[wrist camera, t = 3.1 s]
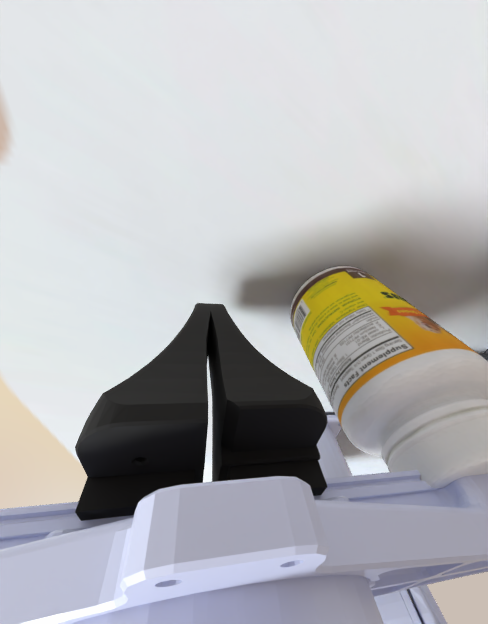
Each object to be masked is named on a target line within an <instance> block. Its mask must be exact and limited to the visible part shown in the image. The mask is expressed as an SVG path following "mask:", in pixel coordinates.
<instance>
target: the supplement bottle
mask: <svg viewBox="0 0 488 624" xmlns="http://www.w3.org/2000/svg"><path fill="white" fill-rule="evenodd" d="M290 318H291V323H292V326H293V328H294V330H295V333H296V335H297V337H298V339H299V341H300V343H301V345H302V347H303V349H304V351H305V353H306V355H307V357H308V359H309V361H310V364H311V366H312V368H313V370H314V372H315V374H316V376H317V378H318V380H319V382H320V384H321V386H322V388H323V390H324V392H325V394H326V396H327V398H328V400H329V402H330V404H331V406H332V408H333V410H334V412H335V414H336V416H337V418H338V420H339V422H340V425H341V427H342V428H343V430H344V432H345V434H346V436H347V437H348V439H349V440H350V442H351V443H352V444H353V445H354V446H356V447H357V448H358V449H360V450H361V451H363V452H365V453H368V454H371V455H376V456H382V459H383V460H384V462H385V463H386V465H387V466H388V470H389V471H390V472H400V471H411V470H418V471H419V473H420V474H421V475H420V480H422V481H425V482H426V483H427V484H428V485H429V486H430V487H431V488H435V489H437V488H444V487H446V486H448V485H449V484H450V483H451V482H453V481H455V480H457V479H459V478H462V477H465V476H471V475H480V474H488V361H487V360H485V359H484V358H483V357H482V356H480V355H479V354H478V353H476V352H475V351H474V350H472V349H471V348H469V347H468V346H467V345H465V344H464V343H463V342H461V341H460V340H459V339H457V338H456V337H455V336H453V335H452V334H450V333H449V332H448V331H446V330H445V329H444V328H442V327H441V326H440V325H438V324H437V323H436V322H434V321H433V320H431V319H430V318H429V317H427V316H426V315H425V314H423V313H422V312H420V311H419V310H418V309H416V308H415V307H414V306H412V305H411V304H410V303H408V302H407V301H406V300H404V299H403V298H401V297H400V296H398V295H397V294H396V293H394V292H393V291H391V290H390V289H389V288H387V287H386V286H385V285H383V284H382V283H381V282H379V281H378V280H377V279H375V278H374V277H372V276H371V275H369V274H368V273H367V272H365V271H363V270H361V269H358V268H355V267H350V266H338V267H332V268H329V269H326V270H323V271H321V272H319V273H317V274H316V275H314V276H312V277H311V278H310V279H308V280H307V281H306V282H305V283H304V284H303V285H302V286H301V287H300V289H299V290H298V292H297V293H296V295H295V297H294V299H293V301H292V304H291V310H290Z"/></svg>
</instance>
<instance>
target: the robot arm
mask: <svg viewBox="0 0 488 624" xmlns="http://www.w3.org/2000/svg"><path fill="white" fill-rule="evenodd" d="M207 358H208V359H209V369H210V378H211V388H212V416H213V446H212V482H206V483H203V472H204V463H205V451H206V439H207V427H208V393H207ZM341 429H342V427H341V425H340V422H339V420H338V418H337V416H336V415H326V413H325V411H324V409H323V407H322V404H321V402H320V400H319V399H318V397H317V395H316V394H315V392H314V390H313V388H311V387H309V386H307V385H305V384H304V383H302V382H300V381H298V380H297V379H295V378H293V377H291V376H290V375H288V374H287V373H285V372H284V371H282V370H281V369H279V368H278V367H277V366H275V365H274V364H273V363H271V362H270V361H269V360H268V359H266V358H265V357H264V356H263V355H262V354H261V353H259V352H258V351H257V350H256V349H255V348H254V347H253V346H252V345H251V344H250V342H249V341H248V340H247V339H246V338H245V337H244V335H243V334H242V333H241V332H240V330H239V329H238V328H237V326H236V325H235V323H234V322H233V320H232V319H231V317H230V315H229V314H228V312H227V310H226V308H225V306H224V305H223V304H204V303H197V304H196V305H195V308H194V310H193V312H192V314H191V316H190V318H189V319H188V321H187V322H186V324H185V325H184V327H183V328H182V329H181V331H180V332H179V333H178V335H177V336H176V337H175V338H174V340H173V341H172V342H171V343H170V344H169V345H168V346H167V347H166V348H165V349H164V350H163V351H162V352H161V353H160V354H159V355H158V356H157V357H156V358H154V359H153V360H152V361H151V362H150V363H149V364H147V365H146V366H145V367H143V368H142V369H141V370H139V371H138V372H137V373H135V374H134V375H133V376H131V377H130V378H128V379H127V380H125V381H123V382H122V383H120V384H118V385H117V386H115V387H113V388H112V389H110V390H108V391H106V392H105V393H103V394H102V396H101V397H100V399H99V400H98V402H97V403H96V405H95V407H94V408H93V410H92V412H91V413H90V415H89V417H88V419H87V421H86V423H85V425H84V427H83V430H82V432H81V434H80V437H79V439H78V441H77V444H76V447H75V448H76V453H77V456H78V458H79V460H80V462H81V464H82V466H83V468H84V470H85V472H86V474H87V476H88V478H87V481H86V484H85V486H84V489H83V492H82V494H81V497H80V500H79V502H72V503H60V504H50V505H39V506H28V507H18V508H7V509H0V624H447V622H446V621H445V619H444V617H443V615H442V613H441V611H440V609H439V607H438V605H437V603H436V601H435V599H434V598H433V596H432V594H431V592H430V590H429V588H428V586H427V585H428V584H432V583H436V582H441V581H445V580H450V579H455V578H459V577H463V576H468V575H473V574H478V573H483V572H488V474H480V475H471V476H465V477H462V478H459V479H457V480H455V481H453V482H451V483H450V484H449V485H448V486H446V487H444V488H437V489H435V488H431V487H430V486H429V485H428V484H427V483H426V482H425V481H422V480H420V475H421V474H420V473H419V471H418V470H411V471H400V472H390V473H379V474H368V475H358V476H352V473H351V471H350V469H349V467H348V464H347V462H346V460H345V458H344V456H343V453H342V451H341V449H340V447H339V444H338V442H337V440H336V437H337V435H338V434H339V432H340V430H341ZM406 590H407V591H406ZM407 592H408V593H407ZM408 594H409V595H408ZM409 596H410V597H409Z"/></svg>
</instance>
